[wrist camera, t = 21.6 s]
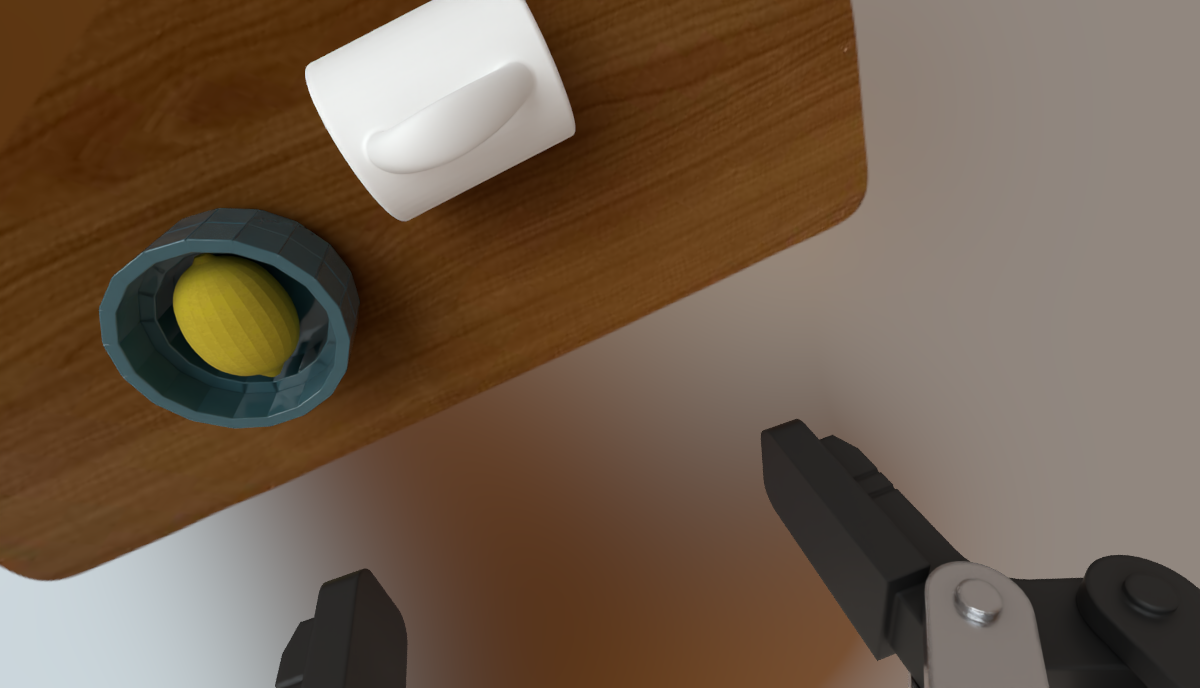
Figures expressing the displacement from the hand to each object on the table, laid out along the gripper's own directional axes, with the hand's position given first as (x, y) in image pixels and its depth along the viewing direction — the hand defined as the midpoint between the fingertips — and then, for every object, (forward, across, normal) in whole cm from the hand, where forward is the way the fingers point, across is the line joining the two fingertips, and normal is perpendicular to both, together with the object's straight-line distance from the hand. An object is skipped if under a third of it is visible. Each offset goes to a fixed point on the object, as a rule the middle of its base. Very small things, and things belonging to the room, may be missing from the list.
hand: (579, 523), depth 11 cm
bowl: (+28, +15, +4) cm, 32 cm away
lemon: (+24, +15, +7) cm, 30 cm away
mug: (+28, 0, -5) cm, 29 cm away
